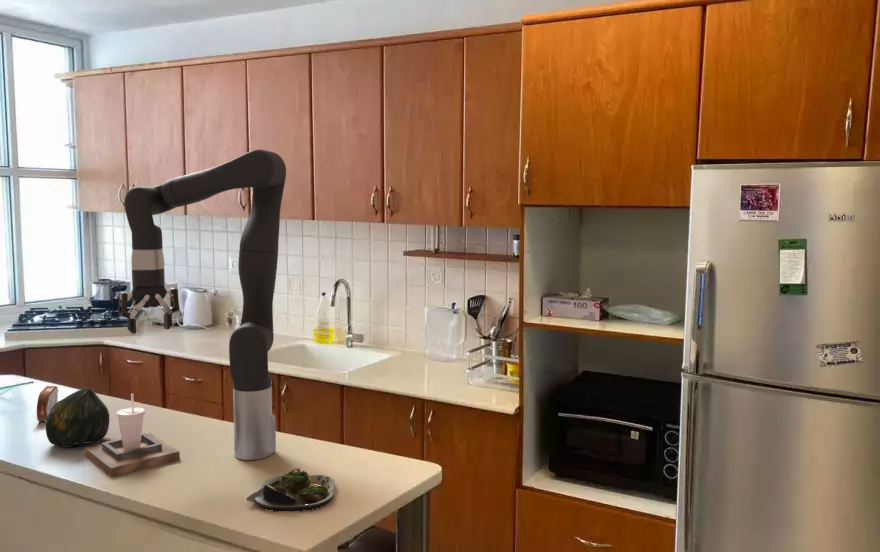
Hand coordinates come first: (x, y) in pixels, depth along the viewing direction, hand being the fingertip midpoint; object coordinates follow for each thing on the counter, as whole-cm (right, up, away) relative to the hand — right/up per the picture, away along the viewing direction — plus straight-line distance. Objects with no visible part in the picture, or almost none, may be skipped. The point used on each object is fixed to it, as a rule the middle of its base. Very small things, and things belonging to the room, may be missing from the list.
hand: (150, 331), depth 174 cm
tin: (-40, -27, +26) cm, 55 cm away
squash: (-21, -30, +6) cm, 37 cm away
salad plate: (+42, -34, -25) cm, 60 cm away
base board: (-3, -31, -4) cm, 31 cm away
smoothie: (-3, -29, -5) cm, 29 cm away
